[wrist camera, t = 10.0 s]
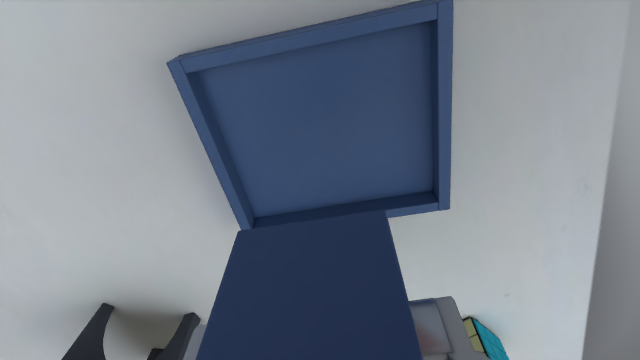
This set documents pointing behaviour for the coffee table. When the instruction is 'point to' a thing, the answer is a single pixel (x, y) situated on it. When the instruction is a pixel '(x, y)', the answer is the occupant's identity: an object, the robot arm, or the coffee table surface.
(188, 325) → the planter
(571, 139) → the coffee table surface
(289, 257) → the blue block
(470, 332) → the puzzle toy
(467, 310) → the coffee table surface
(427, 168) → the blue tray
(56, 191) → the coffee table surface
